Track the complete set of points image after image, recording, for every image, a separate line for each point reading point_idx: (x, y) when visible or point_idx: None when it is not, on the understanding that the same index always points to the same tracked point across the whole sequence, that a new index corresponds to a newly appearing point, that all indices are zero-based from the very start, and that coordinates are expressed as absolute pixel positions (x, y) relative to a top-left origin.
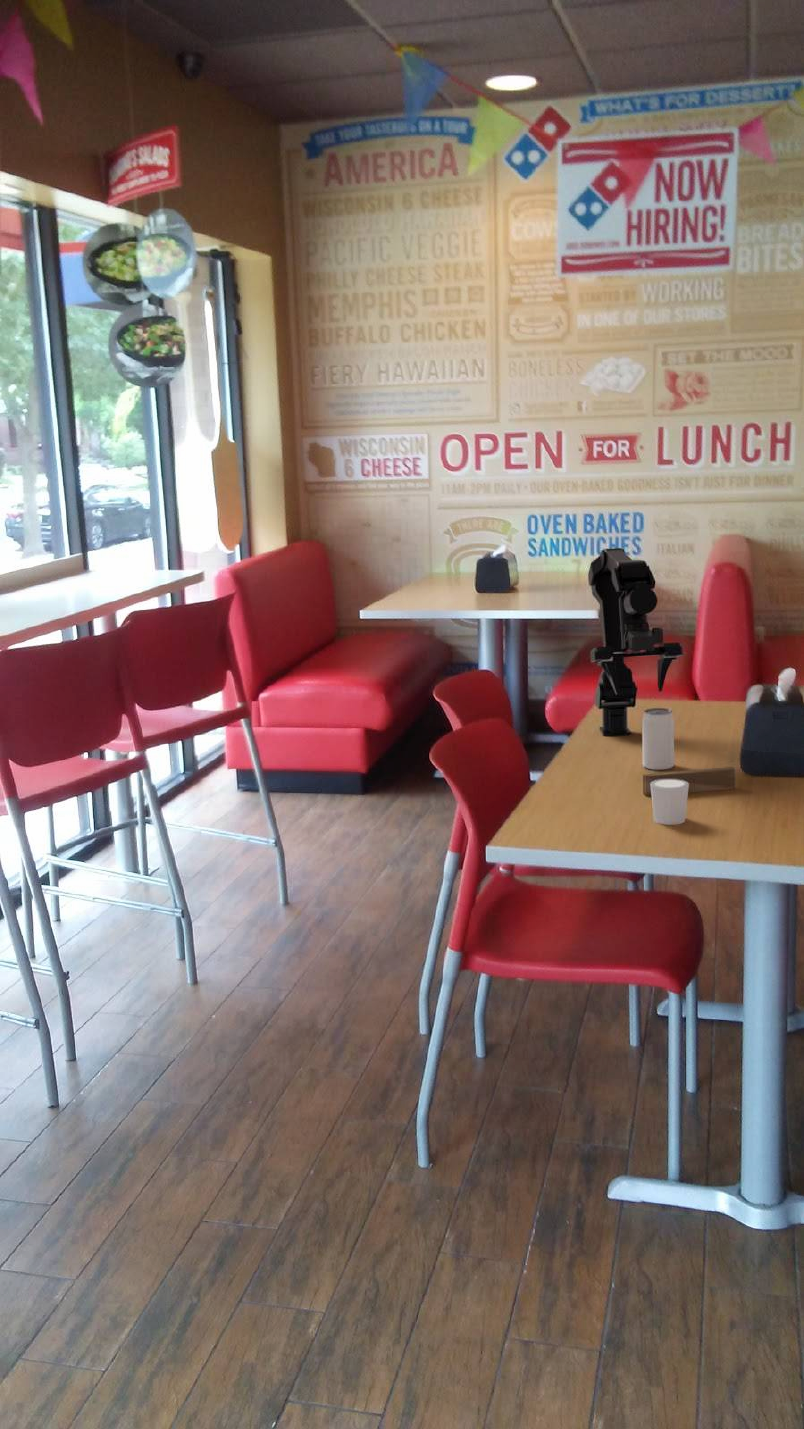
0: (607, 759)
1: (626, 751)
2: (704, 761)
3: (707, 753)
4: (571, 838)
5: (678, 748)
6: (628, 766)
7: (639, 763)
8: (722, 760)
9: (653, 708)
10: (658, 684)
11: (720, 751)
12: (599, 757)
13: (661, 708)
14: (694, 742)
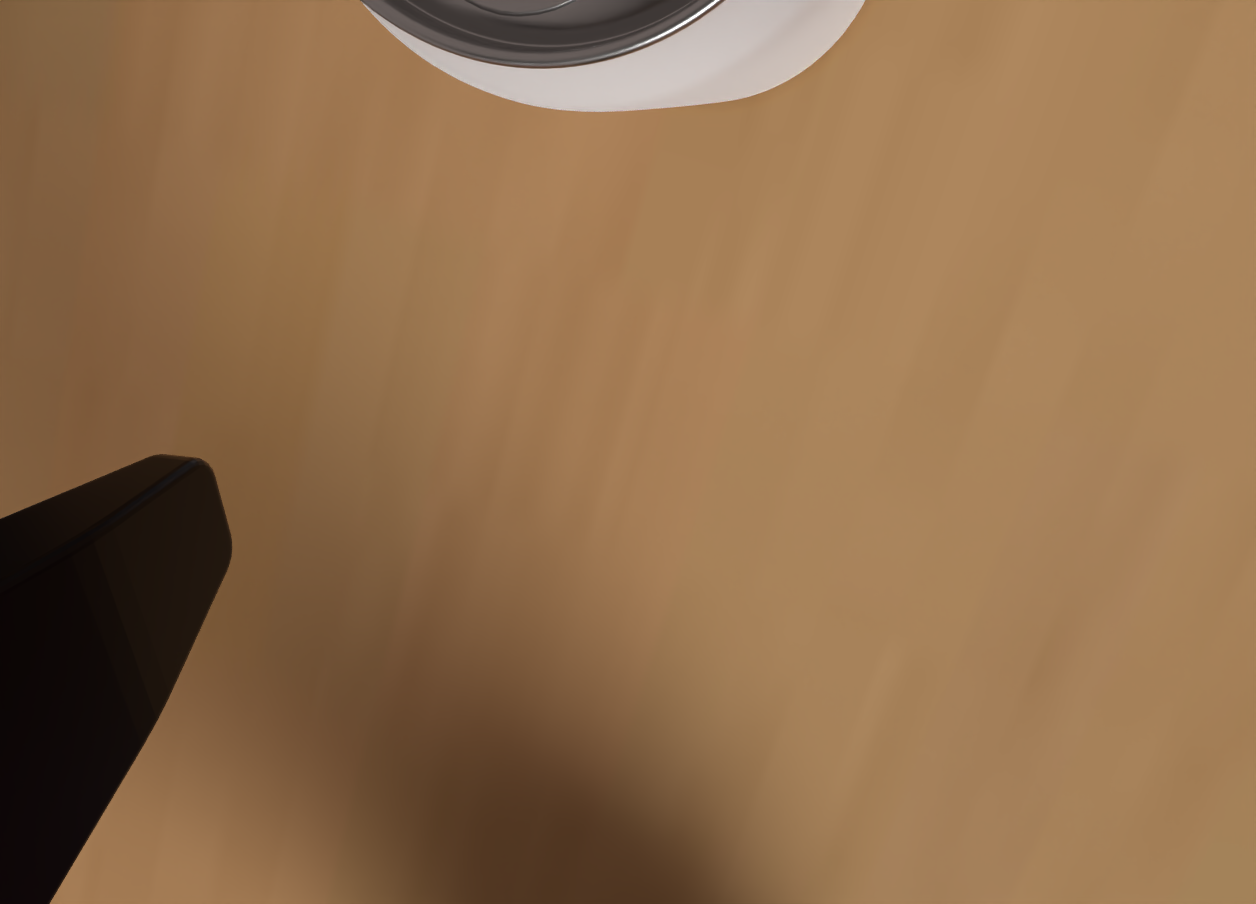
0: (1156, 381)
1: (846, 611)
2: (210, 14)
3: (137, 302)
4: None
5: (349, 549)
6: (1037, 17)
7: (871, 116)
8: (45, 6)
9: (564, 52)
10: (126, 671)
11: (21, 334)
12: (1210, 486)
13: (399, 5)
14: (183, 683)
